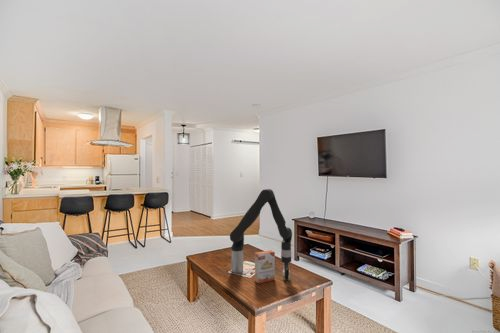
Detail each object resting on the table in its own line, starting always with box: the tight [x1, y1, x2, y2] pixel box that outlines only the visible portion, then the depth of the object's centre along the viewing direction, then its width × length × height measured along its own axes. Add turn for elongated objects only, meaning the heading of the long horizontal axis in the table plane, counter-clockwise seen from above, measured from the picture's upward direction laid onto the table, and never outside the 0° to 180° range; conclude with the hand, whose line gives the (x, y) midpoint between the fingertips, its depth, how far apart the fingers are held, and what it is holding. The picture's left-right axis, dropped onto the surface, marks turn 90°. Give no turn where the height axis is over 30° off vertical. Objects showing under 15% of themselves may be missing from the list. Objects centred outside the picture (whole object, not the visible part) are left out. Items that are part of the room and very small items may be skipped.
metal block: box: [282, 268, 291, 281], centre depth 194 cm, size 5×5×6 cm
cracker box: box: [254, 249, 276, 284], centre depth 192 cm, size 14×6×21 cm, turn 117°
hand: (286, 277), depth 194 cm, fingers closed on metal block, 5 cm apart
